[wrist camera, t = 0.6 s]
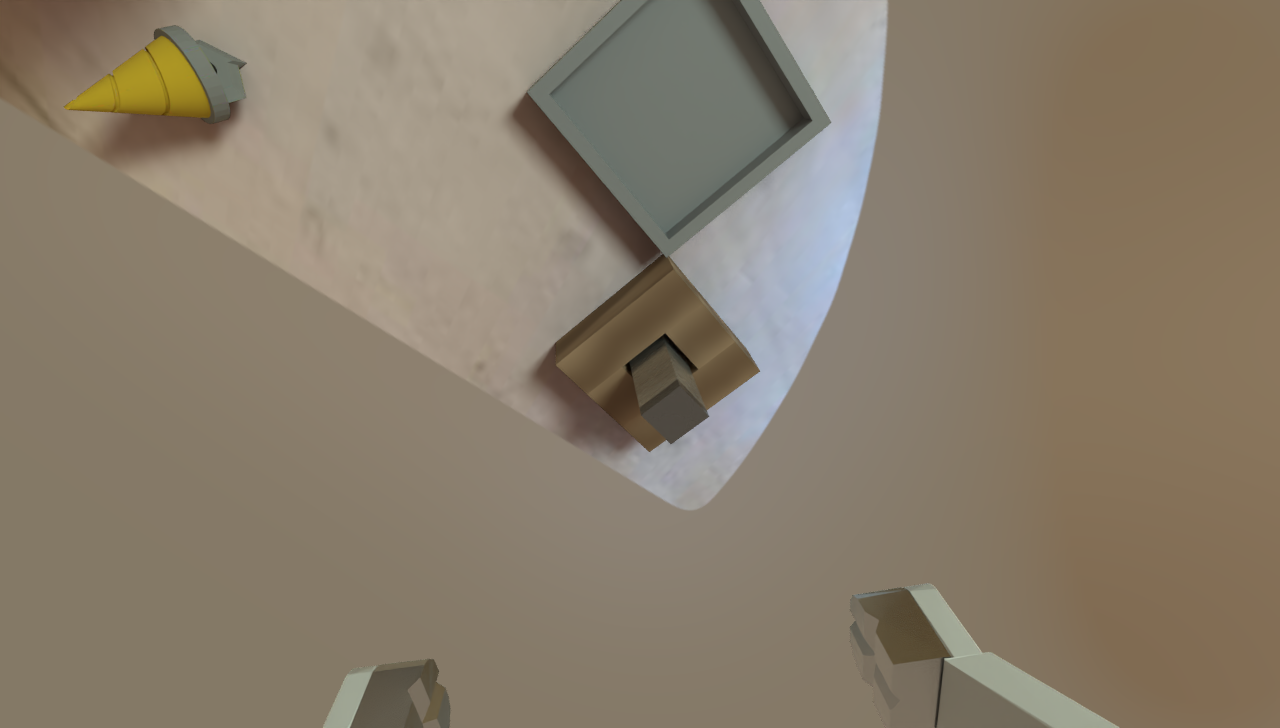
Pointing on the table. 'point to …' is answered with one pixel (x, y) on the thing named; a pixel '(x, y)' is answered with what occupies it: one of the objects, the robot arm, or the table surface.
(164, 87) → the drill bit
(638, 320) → the hitch block
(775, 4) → the table surface
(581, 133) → the tray
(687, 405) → the metal pin
